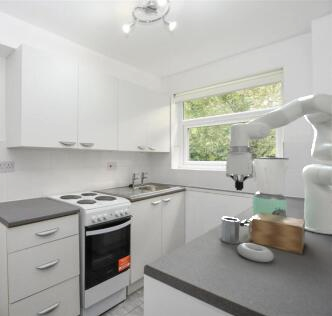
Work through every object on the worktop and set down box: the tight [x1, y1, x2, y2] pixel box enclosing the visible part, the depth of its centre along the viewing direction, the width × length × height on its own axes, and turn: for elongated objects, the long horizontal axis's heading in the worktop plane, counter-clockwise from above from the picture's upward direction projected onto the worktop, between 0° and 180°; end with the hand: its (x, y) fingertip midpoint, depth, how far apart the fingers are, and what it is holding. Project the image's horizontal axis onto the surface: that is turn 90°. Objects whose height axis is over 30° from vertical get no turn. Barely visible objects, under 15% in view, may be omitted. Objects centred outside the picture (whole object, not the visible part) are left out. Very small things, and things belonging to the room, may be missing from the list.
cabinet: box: [251, 213, 306, 255], centre depth 88 cm, size 15×15×10 cm
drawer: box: [239, 214, 257, 240], centre depth 91 cm, size 18×13×8 cm
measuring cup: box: [220, 216, 241, 245], centre depth 89 cm, size 6×6×9 cm
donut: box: [237, 242, 275, 263], centre depth 75 cm, size 10×4×10 cm
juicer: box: [251, 155, 290, 218], centre depth 108 cm, size 19×13×35 cm
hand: (239, 190), depth 102 cm, fingers closed
